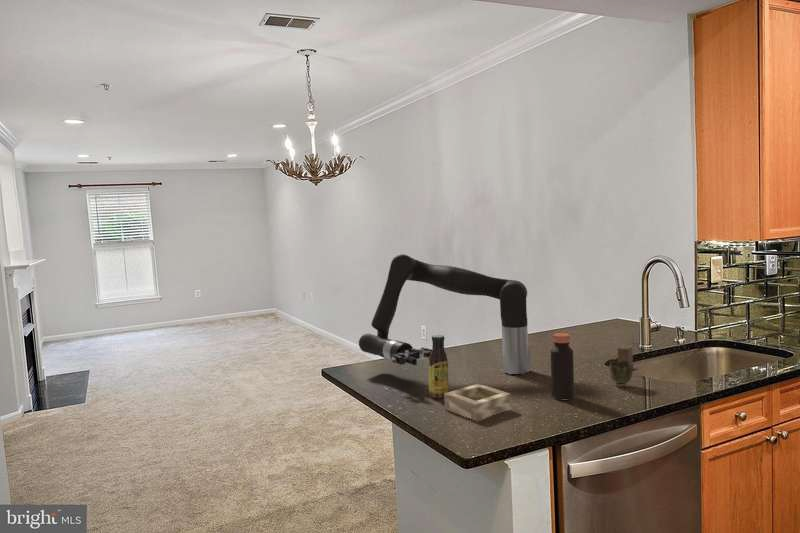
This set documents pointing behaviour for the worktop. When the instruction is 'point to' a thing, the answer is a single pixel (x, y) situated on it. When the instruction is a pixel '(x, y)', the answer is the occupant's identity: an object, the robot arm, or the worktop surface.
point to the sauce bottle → (438, 368)
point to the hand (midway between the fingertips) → (426, 359)
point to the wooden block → (625, 354)
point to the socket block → (477, 401)
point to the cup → (621, 372)
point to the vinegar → (562, 367)
